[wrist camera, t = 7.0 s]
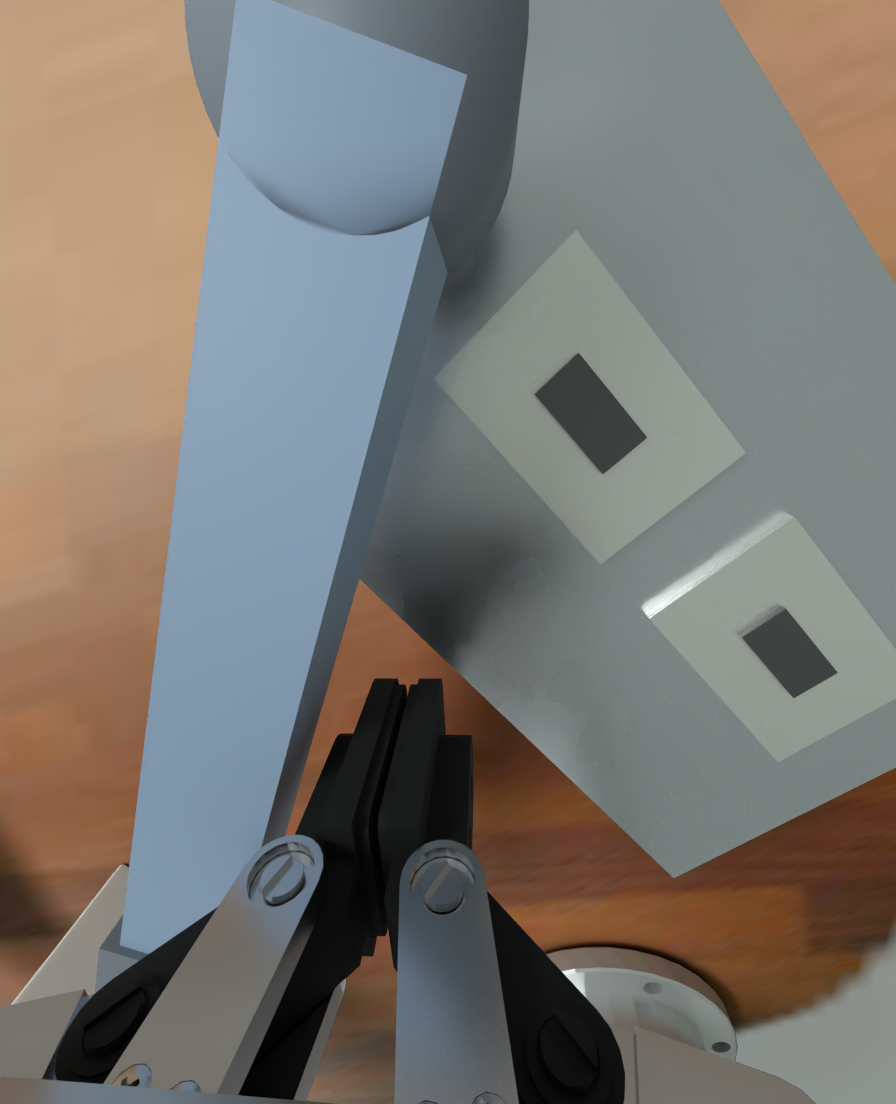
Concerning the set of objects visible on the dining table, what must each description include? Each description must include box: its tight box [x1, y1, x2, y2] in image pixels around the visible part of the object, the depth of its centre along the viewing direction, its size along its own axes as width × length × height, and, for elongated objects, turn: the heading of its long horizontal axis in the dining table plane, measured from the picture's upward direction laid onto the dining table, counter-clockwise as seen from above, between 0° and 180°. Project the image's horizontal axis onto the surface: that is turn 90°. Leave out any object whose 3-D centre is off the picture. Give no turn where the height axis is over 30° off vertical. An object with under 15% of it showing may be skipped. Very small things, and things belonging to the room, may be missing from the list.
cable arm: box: [95, 0, 529, 993], centre depth 9 cm, size 20×4×3 cm, turn 161°
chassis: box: [359, 0, 896, 878], centre depth 12 cm, size 20×13×6 cm, turn 44°
